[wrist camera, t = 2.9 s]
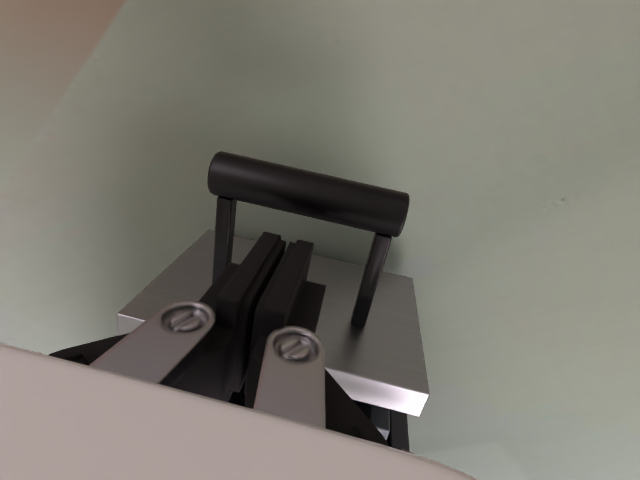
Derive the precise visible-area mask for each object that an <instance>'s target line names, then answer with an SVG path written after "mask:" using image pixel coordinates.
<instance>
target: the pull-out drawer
mask: <svg viewBox="0 0 640 480" xmlns="http://www.w3.org/2000/svg"><path fill="white" fill-rule="evenodd" d="M208 188H209V191H210V192H211V193H212V194H213V195H217V196H218V198H217V211H216V227H215V231H213V230H208V231H207V232H206V233H205V234H204V235H202V236H201V237H200V238H199V239H198V240H197V241H196V242H195V243H194V244H193V245H192V246H190V247H189V248H188V249H187V250H186V251H185V252H184V253H183V254H182V255H181V256H180V257H178V258H177V259H176V260H175V261H174V262H173V263H172V264H171V265H170V266H169V267H168V268H167V269H165V270H164V271H163V272H162V273H161V274H160V275H159V276H158V277H157V278H156V279H155V280H153V281H152V282H151V283H150V284H149V285H148V286H147V287H146V288H145V289H144V290H143V291H141V292H140V293H139V294H138V295H137V296H136V297H135V298H134V299H133V300H132V301H131V302H129V303H128V304H127V305H126V306H125V307H124V308H123V309H122V310H121V311H120V312H119V313H118V314H117V320H118V332H119V335H123V334H127V333H130V332H132V331H133V330H134V329H136V328H137V327H138V326H139V325H141V324H142V323H143V322H144V321H146V320H147V319H148V318H149V317H151V316H152V315H153V314H154V313H156V312H157V311H158V310H160V309H161V308H162V307H164V306H166V305H167V304H170V303H173V302H176V301H182V300H195V301H199V300H200V299H201V298H202V296H203V295H204V294H205V293H206V291H207V290H208V289H209V288H210V286H211V285H212V284H213V283H214V281H215V280H216V279H217V278H218V276H219V275H220V274H221V273H222V271H223V270H224V269H225V268H226V266H227V265H228V264H229V263H236V264H241V263H242V261H243V260H244V259H245V257H246V256H247V255H248V253H249V252H250V250H251V249H252V248H253V246H254V245H255V244H256V242H257V241H255V240H250V239H246V238H242V237H238V236H234V227H235V216H236V204H237V200H239V201H243V202H247V203H252V204H256V205H260V206H265V207H269V208H273V209H277V210H282V211H286V212H290V213H295V214H299V215H303V216H307V217H312V218H316V219H320V220H325V221H329V222H333V223H338V224H342V225H346V226H350V227H355V228H359V229H363V230H368V231H372V232H375V234H374V237H373V241H372V244H371V248H370V252H369V255H368V259H367V262H366V266H365V267H363V266H359V265H355V264H351V263H347V262H342V261H338V260H334V259H330V258H326V257H322V256H317V255H313V254H312V256H311V261H310V266H309V271H308V276H307V281H310V282H314V283H318V284H323V285H326V290H325V294H324V299H323V303H322V307H321V312H320V316H319V320H318V324H317V328H316V333H315V334H316V335H317V336H319V338H320V339H321V341H322V342H323V345H324V354H325V369H326V370H327V371H328V372H329V373H330V375H331V376H332V377H333V378H334V379H335V380H336V382H337V383H338V384H339V385H340V386H341V387H342V389H343V390H344V391H345V392H346V393H347V394H348V396H349V397H350V398H351V399H352V400H353V401H354V402H355V404H356V405H357V406H358V407H359V408H360V409H361V411H362V412H363V413H364V414H365V415H366V416H367V418H368V419H369V420H370V421H371V422H372V423H373V425H374V426H375V427H376V428H377V429H378V430H379V431H380V433H381V434H382V435H383V437H384V438H385V440H386V439H387V437H388V434H389V432H390V415H389V409H391V410H394V411H398V412H402V413H406V414H410V415H414V416H417V417H419V416H420V414H421V412H422V410H423V408H424V405H425V403H426V401H427V399H428V397H429V387H428V380H427V374H426V367H425V360H424V353H423V347H422V340H421V333H420V326H419V320H418V313H417V306H416V299H415V292H414V286H413V279H412V278H409V277H405V276H401V275H397V274H393V273H388V272H384V271H382V269H383V265H384V262H385V259H386V256H387V252H388V249H389V246H390V242H391V239H392V236H393V237H398V236H399V235H400V233H401V231H402V229H403V227H404V224H405V220H406V217H407V212H408V207H409V195H408V194H407V193H404V192H399V191H395V190H391V189H386V188H382V187H377V186H373V185H368V184H364V183H360V182H355V181H351V180H346V179H342V178H337V177H333V176H328V175H324V174H320V173H315V172H311V171H306V170H302V169H297V168H293V167H289V166H284V165H280V164H275V163H271V162H266V161H262V160H258V159H253V158H249V157H244V156H240V155H235V154H231V153H226V152H218V153H216V154H215V156H214V157H213V159H212V161H211V164H210V167H209V172H208ZM286 249H287V248H285V251H286ZM245 383H246V379H245V381H244V383H243V386H242V388H241V390H240V392H235V391H233V392H232V394H231V397H230V399H229V401H228V403H232V404H236V405H239V406H243V407H246V406H245V397H246V394H244V390H245Z"/></svg>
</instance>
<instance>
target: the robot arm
mask: <svg viewBox="0 0 640 480" xmlns="http://www.w3.org/2000/svg"><path fill="white" fill-rule="evenodd" d="M313 245H314V243H310V242H306V241H302V240H297V241H296V243H292V242H290V244H289V246H288V247H287V249H286V251H285V247H286V241H283V240H281V236H280V235H276V234H272V233H268V232H264V233H263V234H262V236H261V237H260V238H259V240H258V241H257V242H256V244H255V245H254V246H253V248H252V249H251V250H250V252H249V253H248V255H247V256H246V257H245V259H244V260H243V261H242V263H241V264H236V263H229V264H228V265H227V266H226V268H225V269H224V270H223V271H222V273H221V274H220V275H219V276H218V278H217V279H216V280H215V281H214V283H213V284H212V285H211V286H210V288H209V289H208V290H207V291H206V293H205V294H204V295H203V296H202V298H201V299H200V300H199V301H195V300H182V301H176V302H173V303H170V304H167V305H166V306H164V307H162V308H161V309H160V310H158V311H157V312H156V313H154V314H153V315H152V316H151V317H149V318H148V319H147V320H146V321H144V322H143V323H142V324H141V325H139V326H138V327H137V328H136V329H134V330H133V331H132V332H130V333H127V334H123V335H119V336H115V337H111V338H107V339H103V340H99V341H95V342H91V343H87V344H83V345H79V346H75V347H71V348H67V349H63V350H60V351H57V352H54V353H51V354H49V355H45V354H42V353H37V352H33V351H29V350H25V349H21V348H17V347H13V346H9V345H5V344H2V343H0V480H477V479H475V478H473V477H471V476H469V475H467V474H465V473H463V472H461V471H459V470H456V469H454V468H451V467H449V466H446V465H444V464H441V463H439V462H436V461H434V460H431V459H427V458H424V457H421V456H418V455H415V454H413V453H411V452H409V451H407V450H405V449H403V448H402V450H398V449H395V448H392V447H389V446H388V443H387V441H386V440H385V438H384V437H383V435H382V434H381V433H380V431H379V430H378V429H377V428H376V427H375V426H374V425H373V423H372V422H371V421H370V420H369V419H368V418H367V416H366V415H365V414H364V413H363V412H362V411H361V409H360V408H359V407H358V406H357V405H356V404H355V402H354V401H353V400H352V399H351V398H350V397H349V396H348V394H347V393H346V392H345V391H344V390H343V389H342V387H341V386H340V385H339V384H338V383H337V382H336V380H335V379H334V378H333V377H332V376H331V375H330V373H329V372H328V371H327V370H326V369H325V354H324V345H323V342H322V341H321V339H320V338H319V336H317V335H316V334H315V333H316V328H317V324H318V320H319V316H320V312H321V307H322V303H323V299H324V294H325V290H326V285H323V284H318V283H314V282H310V281H307V276H308V271H309V266H310V261H311V256H312V251H313ZM245 379H246V383H245V390H244V394H246V397H245V406H246V407H243V406H239V405H236V404H232V403H228V401H229V399H230V397H231V394H232V392H233V391H235V392H240V390H241V388H242V386H243V383H244V381H245Z"/></svg>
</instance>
